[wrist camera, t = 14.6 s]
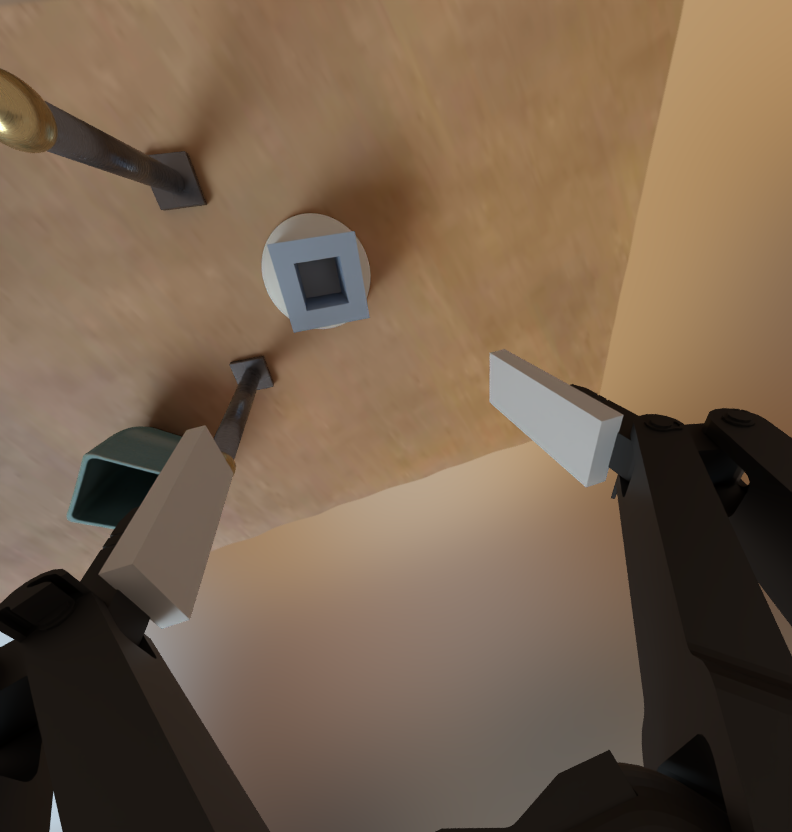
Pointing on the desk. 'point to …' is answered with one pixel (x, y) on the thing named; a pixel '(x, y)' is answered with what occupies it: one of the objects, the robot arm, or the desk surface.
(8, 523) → the desk surface
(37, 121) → the gold-tipped post pair
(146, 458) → the flower pot
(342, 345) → the desk surface
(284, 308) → the white round disc
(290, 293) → the hollow square tube
